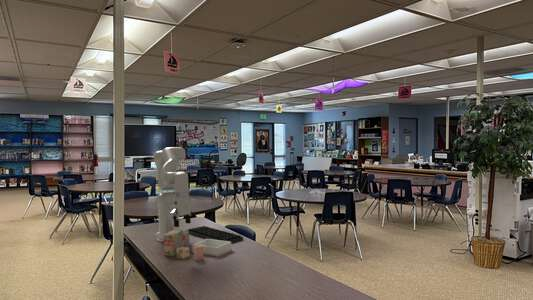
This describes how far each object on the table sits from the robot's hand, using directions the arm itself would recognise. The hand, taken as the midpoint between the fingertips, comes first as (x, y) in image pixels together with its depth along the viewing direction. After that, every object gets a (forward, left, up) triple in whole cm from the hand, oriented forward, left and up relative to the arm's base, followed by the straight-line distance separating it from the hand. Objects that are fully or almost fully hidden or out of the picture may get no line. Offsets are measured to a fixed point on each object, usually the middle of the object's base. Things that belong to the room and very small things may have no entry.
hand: (182, 224), depth 206 cm
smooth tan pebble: (+11, 0, -18) cm, 21 cm away
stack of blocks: (-12, +9, -19) cm, 24 cm away
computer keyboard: (-11, +44, -19) cm, 49 cm away
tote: (+9, +15, -18) cm, 25 cm away
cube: (0, 0, -18) cm, 18 cm away
